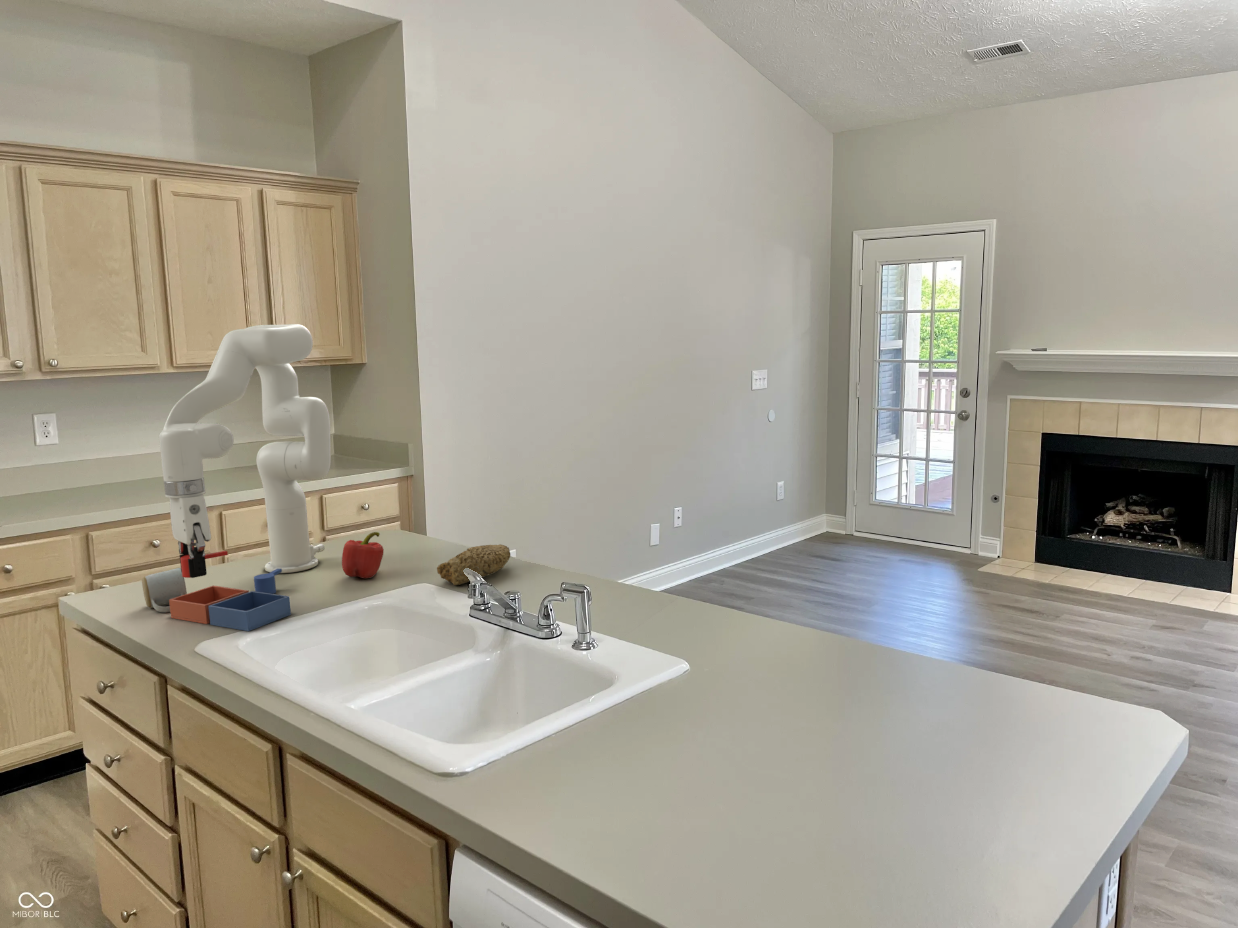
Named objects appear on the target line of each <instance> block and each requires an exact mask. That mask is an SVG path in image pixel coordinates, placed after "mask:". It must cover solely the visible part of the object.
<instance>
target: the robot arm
mask: <svg viewBox="0 0 1238 928" xmlns="http://www.w3.org/2000/svg"><path fill="white" fill-rule="evenodd" d="M313 341H314V340H313V335H312V333H311V332H310V330H309V329H308V328H307V327H306V326H304V325H302V324H299V323H292V324H291V323H290V324H289V323H288V324H261V325H253V326H248V327H245V328H240V329H239V328H237V329H233V330H229V332H227V333H226V334H225V335H224V336H223V337H222V340H221V342H220V344H219V347H218V348H217V351H216V354H215V356H214V359H213V361H212V364H211V365H210V369H209V371H208V372H207V375H206V377H205V379H204V380H203V381H202V382H200V383H199V384H197V385H196V386H194V387H193V388H192V389H191V390H189V391H188V392H187V393H186V394H184V395H183V396H182V397H181V398H180V399H179V400H178V401H177V402H176V403H175V404H174V405H173V407H172V408H171V410H170V412H169V414H168V416H167V418H166V419H165V423H164V425H163V428H162V430H161V431H160V433H159V435H158V442H159V451H160V461H161V469H162V470H161V471H162V479H163V488H164V497H165V498H167V499H169V514H170V525H171V526H170V527H171V532H172V537H173V539H174V540H176V541H178V542H177V545H178V554H179V563H180V565H181V557H182V556H185V555H189V557H190V559H188V565H189V574H190V577H191V578H190V579H194V578H199V577H200V578H201V577H205V576H207V564H206V559H205V554H206V551H205V548H206V542H207V543H208V542H210V541H211V540H212V533H211V525H210V519H209V513H208V509H207V503H206V499H205V496H204V495H205V494H206V485H205V475H204V466H203V465H204V464H203V460H205V459H208V460H209V459H211V460H212V459H220V458H222V457H226V455H228V454H229V453H230V452H231V450H232V449H233V446H234V443H235V442H234V435H233V432H232V430H231V429H230V428H229V427H227V426H226V425H224V424H221V423H217V422H203V423H202V422H199V421H200V420H201V419H202V418H204V417H205V416H207V415H209V414H210V413H214V411H218V410H220V409H223V408H225V407H227V406H229V405H231V404H234V403H236V402H238V401H239V400H241V399H242V398H244V396H245V394H246V391H247V389H248V386H249V383H250V381H251V378H252V376H253V374H254V371H255V369H256V371H257V373H258V375H259V378H260V386H261V411H262V414H261V416H262V425H263V429H264V431H265V432H266V433H267V434H268V435H271V436H274V437H304V441H274V442H269V443H266V444H264V445H263V446H262V447H260V448H259V450H258V451H257V454H256V457H255V459H256V467H257V471H258V474H259V477H260V481H261V484H262V490H263V497H264V503H265V515H266V525H267V526H266V527H267V536H268V544H269V555H270V556H269V557H270V561H268V562H267V563H265V564H264V571H266V572H267V573H270V572H272V571H274V570H276V569H282V572H281V573H280V574H289V573H290V574H291V573H298V572H303V571H306V570H310V569H313V568H315V567H316V566H318V565H319V559H318V558H317V557H316V556H315V555H317V553H321V552H324V551H325V545H324V544H323V543H319V544H316V545H313V544H311V541H310V532H309V530H310V529H309V521H308V520H309V518H308V509H307V498H306V494H305V492H304V490H303V487H301V485H300V484H299V482H298V481H318V480H323V479H324V478H326V477H327V476H328V475H329V472H330V469H331V464H332V463H331V461H332V457H331V456H332V452H331V450H332V449H331V447H332V446H331V445H332V443H331V442H332V441H331V417H330V412H329V409H328V406H327V404H326V403H325V401H323V400H322V399H321V398H319V397H315V396H300V392H299V379H298V375H297V373H296V371H295V369H294V367H292V363H295V362H299V361H303V360H305V359H307V358H308V357H309V356H310V354H311V353H312V350H313V345H314V342H313ZM180 568H181V567H180ZM181 572H182V568H181Z"/></svg>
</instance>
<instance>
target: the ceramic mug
mask: <svg viewBox="0 0 1238 928" xmlns="http://www.w3.org/2000/svg"><path fill="white" fill-rule="evenodd" d="M185 580H186V579H185V577H183V576H182V572H181V567H176V568H173V569H167V570H164V571H160V572H156V573H150V574H148V575H146V576H144V577H142V578H141V586H142V592H143V596H144V601H145V605H146V606H147V607H148V608H151V609H153V608H154V610H155V611H156V612H159V613H171V612H170V603H169V600H170V599H173V598H176V597H179V596H182V595H185V594H188V591H187V585H186V581H185Z"/></svg>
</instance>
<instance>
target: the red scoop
mask: <svg viewBox="0 0 1238 928" xmlns="http://www.w3.org/2000/svg"><path fill="white" fill-rule="evenodd" d="M228 552H229V551H228V550H220V551H216V552H211V553H210V552H209V553H205V560H209V559H215V558H220V557H225V556H228V555H229V553H228ZM188 559H190V557H189V555H185V556H182V557H181V564H180V568H182V576H183V577H184V579H185V578H186V579H192V578H191V577H190V574H189V565H188Z"/></svg>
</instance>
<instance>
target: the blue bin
mask: <svg viewBox="0 0 1238 928" xmlns="http://www.w3.org/2000/svg"><path fill="white" fill-rule="evenodd" d="M290 599H291V598H290V596H289V595H283V594H276V593H274V594H270V593H263V592H256V591H255V590H250V591H249V592H248V593H245V594H242V595H239V596H236V597H233V598H230V599H227V600H224V601H221V602H219V603H216V604H213V605H210V606H208V607H209V616H210V623H209V624H210V626H214V627H215V626H216V627H222V628H227V629H232V630H239V631H244V632H251V631H253V630H255V629H256V630H257V629H258V628H260V627H264V626H267V625H268V624H271V623H274V622H276V621H279V620H281V619H283V618H286V617H289V616H291V615H292V610H291V600H290Z"/></svg>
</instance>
